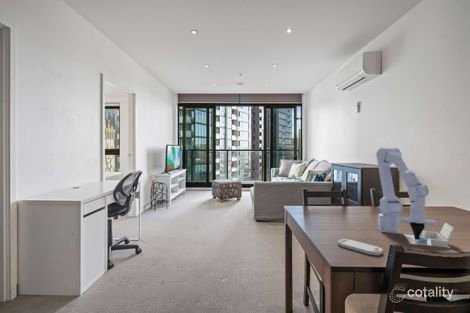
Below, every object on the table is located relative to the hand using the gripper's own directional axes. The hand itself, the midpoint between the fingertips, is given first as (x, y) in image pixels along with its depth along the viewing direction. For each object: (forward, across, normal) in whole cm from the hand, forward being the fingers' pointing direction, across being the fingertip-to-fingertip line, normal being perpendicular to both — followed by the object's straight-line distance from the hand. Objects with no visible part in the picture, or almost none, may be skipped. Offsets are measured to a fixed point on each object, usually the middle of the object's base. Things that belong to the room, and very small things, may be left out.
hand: (416, 239), depth 127 cm
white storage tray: (+1, +4, +2) cm, 4 cm away
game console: (+2, -26, -20) cm, 33 cm away
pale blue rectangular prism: (+1, +2, 0) cm, 2 cm away
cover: (-5, +11, 0) cm, 12 cm away
